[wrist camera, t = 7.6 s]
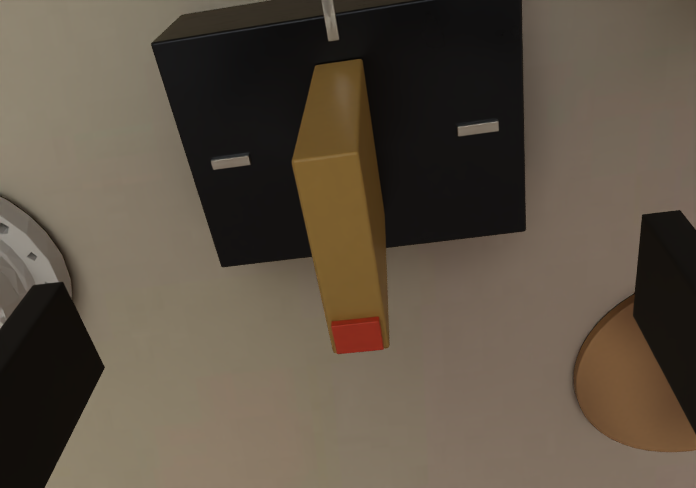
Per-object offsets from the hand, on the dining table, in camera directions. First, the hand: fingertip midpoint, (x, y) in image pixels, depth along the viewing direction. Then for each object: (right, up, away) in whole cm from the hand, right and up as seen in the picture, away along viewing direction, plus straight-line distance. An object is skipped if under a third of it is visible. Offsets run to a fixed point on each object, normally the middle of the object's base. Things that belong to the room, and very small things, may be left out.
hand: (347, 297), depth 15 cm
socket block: (0, +7, +11) cm, 13 cm away
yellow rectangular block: (0, +5, +8) cm, 9 cm away
